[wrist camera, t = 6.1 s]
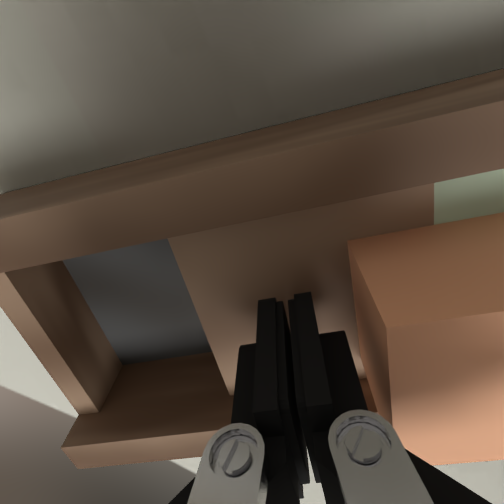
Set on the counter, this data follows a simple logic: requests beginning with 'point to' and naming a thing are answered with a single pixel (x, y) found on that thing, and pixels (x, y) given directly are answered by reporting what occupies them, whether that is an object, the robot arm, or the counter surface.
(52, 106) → the counter surface
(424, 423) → the block
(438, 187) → the box
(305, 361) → the robot arm
